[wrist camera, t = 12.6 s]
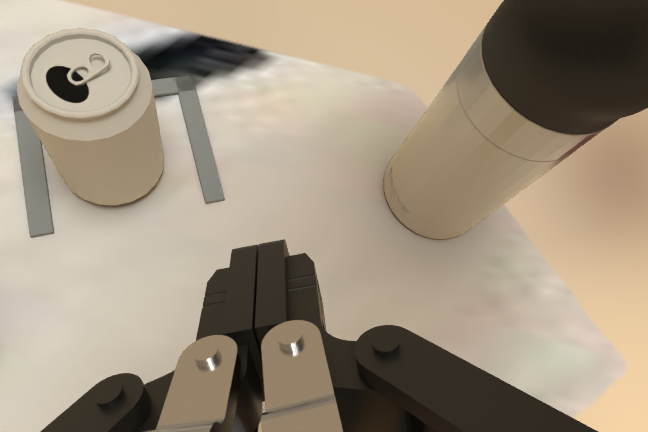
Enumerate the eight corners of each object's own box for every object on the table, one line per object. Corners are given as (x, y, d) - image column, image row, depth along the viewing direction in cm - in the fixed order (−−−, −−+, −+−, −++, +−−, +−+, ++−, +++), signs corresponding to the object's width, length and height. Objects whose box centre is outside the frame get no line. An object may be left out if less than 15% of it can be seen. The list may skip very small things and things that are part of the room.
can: (41, 160, 38) (-25, 56, 27) (124, 109, 41) (94, -3, 30) (105, 229, 37) (63, 149, 26) (184, 171, 40) (176, 79, 29)
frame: (192, 77, 44) (192, 75, 43) (224, 200, 40) (224, 198, 40) (13, 98, 39) (12, 96, 39) (31, 237, 36) (29, 236, 36)
